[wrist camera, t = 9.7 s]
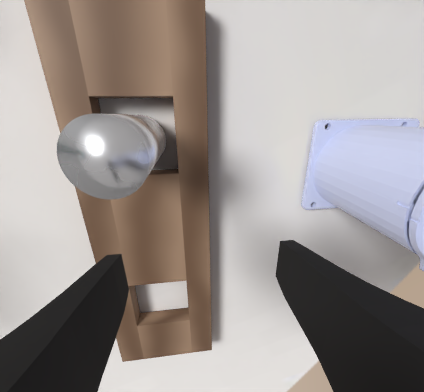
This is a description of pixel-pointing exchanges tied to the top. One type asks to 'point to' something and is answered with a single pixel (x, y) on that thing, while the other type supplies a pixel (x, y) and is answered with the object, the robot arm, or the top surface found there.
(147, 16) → the walnut board
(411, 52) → the top surface
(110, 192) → the steel rod
